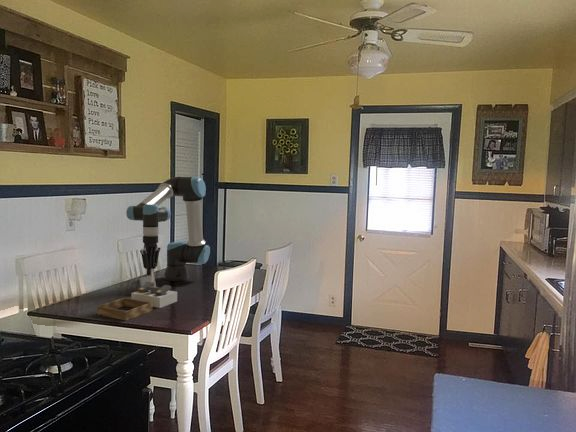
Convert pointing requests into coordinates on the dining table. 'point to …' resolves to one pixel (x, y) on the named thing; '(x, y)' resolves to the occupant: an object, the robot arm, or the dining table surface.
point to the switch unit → (156, 297)
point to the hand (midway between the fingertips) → (150, 281)
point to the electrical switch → (145, 281)
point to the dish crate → (113, 312)
